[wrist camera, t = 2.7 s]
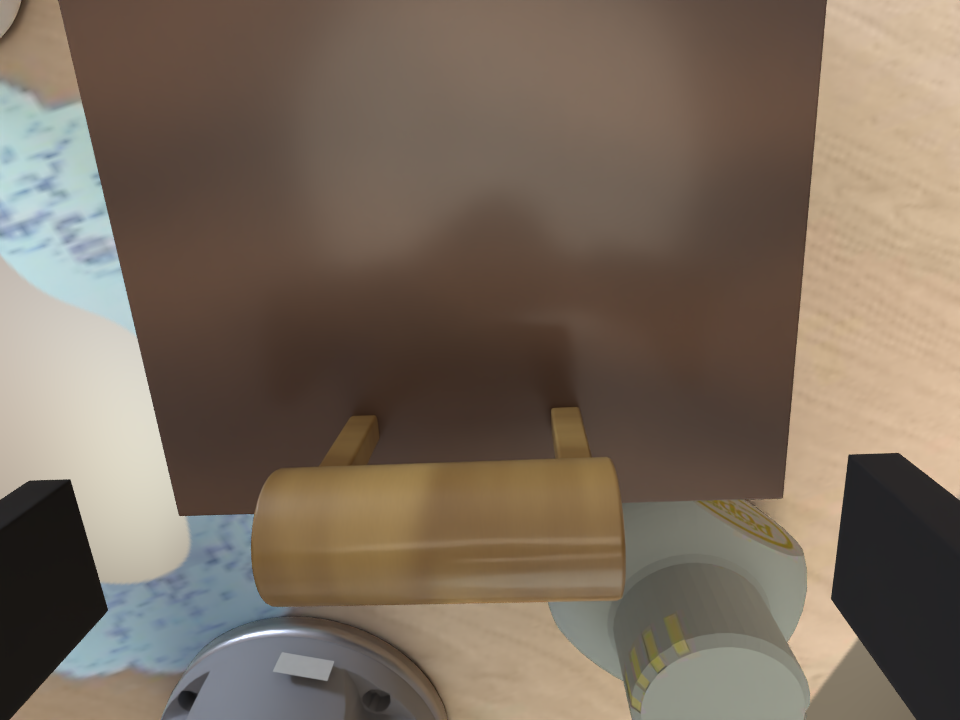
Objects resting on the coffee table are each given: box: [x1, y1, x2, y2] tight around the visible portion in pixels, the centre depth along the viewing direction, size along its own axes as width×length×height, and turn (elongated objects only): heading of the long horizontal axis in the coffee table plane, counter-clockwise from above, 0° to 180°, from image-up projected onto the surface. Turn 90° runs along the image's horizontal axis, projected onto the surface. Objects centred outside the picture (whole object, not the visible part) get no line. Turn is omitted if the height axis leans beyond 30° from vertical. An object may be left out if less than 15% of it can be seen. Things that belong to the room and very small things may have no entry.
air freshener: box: [548, 500, 810, 720], centre depth 26 cm, size 11×8×10 cm
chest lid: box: [58, 0, 827, 607], centre depth 12 cm, size 17×16×7 cm
